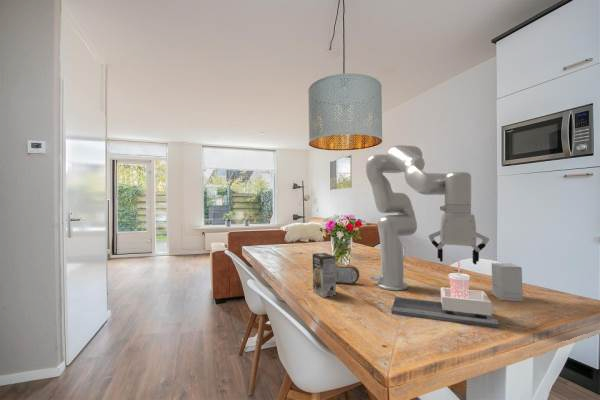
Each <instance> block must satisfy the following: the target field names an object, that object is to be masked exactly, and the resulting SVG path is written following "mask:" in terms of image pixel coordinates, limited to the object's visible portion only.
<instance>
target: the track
mask: <svg viewBox="0 0 600 400" xmlns="http://www.w3.org/2000/svg"><path fill="white" fill-rule="evenodd" d="M390 311H391V313H390V314H391V315H401V316H406V317H415V318H422V319H428V320H438V321H443V322H444V321H445V322H452V323H458V324H466V325H474V326H482V327H488V328H496V329H499V319H496V318H495V317H494V315H493V312H491V314H492V316H490V315H486V316H487V318H479V314H473V313H465V312H457V311H453V314H446V310H442V303H441V301H436V300H429V299H428V300H427V299H418V298H409V297H401V296H394V301H393V304H392V306H391V310H390Z"/></svg>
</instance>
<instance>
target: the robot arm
mask: <svg viewBox="0 0 600 400" xmlns="http://www.w3.org/2000/svg"><path fill="white" fill-rule="evenodd" d="M424 169H425V160H424V158H423V152H422V150H421V149H420V148H419V147H418V146H416V145H405V144H404V145H403V144H402V145H401V144H395V145H394V146H392V147H390V148H389V150H388V151H387V154H373V155H371V156H369V158H368V159H367V160H366V163H365V173H366V177H367V179H368V181H369V184H370V186H371V191H372V194H373V198H374V203H375V205H376V209H377V211H378V212H379V213H381V214H388V215H383V216H381V217H380V218H379V219H378V221H377V230H378V236H379V244H380V247H379V248H380V275H374V274H372V275H371V276H370V277H371V280H372V281H375V282H377V281H378V282H377V286H378V287H379V288H380V289H382V290H383V289H384V290H388V291H404V290H406V289H408V287H409V286H408V283H407V282H405V279H404V278H405V276H404V275H405V274H404V248H403V244H402V242H401V240H400V238H399V237H403V236H404V237H407V236H413V235H414V234H415V233H416V232H417V229H418V222H417V218H416V215H415V212H414V208H413V204H412V200H411V199H410V197H409V196H408V195H407V194H406V193H404V192H394V191H393V188H392V186H391V182H390V181H389V180H388V178H387V177H386V176H385V175H384V174H401V173H404V178H405V181H406V184H407V185H408V186H409V188H412V189H413V190H414V191H415V192H416V193H419V194H421V195H426V196H429V195H430V196H431V195H433V196H436V195H437V196H441V195H443V196H444V205H442V206H439V211H443V212H444V213H442V215H441V220H440V221H441V222H440V229H439V230H438V231H435V232H433V233H431V234H429V235H428V238H429V240H430V242H431V243H432V245H433V246H434V247H435V248H436V249H437V259H439V261H440V263H441V262H443V259H444V258H443V255H444V254H443V252H444V251H443V247H444V246H445V245H447V246H459V247H461V246H462V247H472V248H473V250H472V264H474V265H477V263H478V262H479V261H480V259H479V258H480V252H481V251H482V250H483V249H484V248H486V245H487V244H488V242H489V241H490V239H489V237H487V236H485V235H482V234H481V233H478V232H477V224H476V219H475V214H472V175H471V173H469V172H465V171H455V172H454V171H453V172H448V173H438V172H434V173H433V172H432V173H431V172H430V173H429V172H425V171H423V170H424ZM438 236H439V237H440V242H439V243H438V242H437V241H436V240H435V238H436V237H438ZM477 238H478V239H481V242H480V243H479V244H478V245H476V244H477Z"/></svg>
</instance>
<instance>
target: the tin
mask: <svg viewBox="0 0 600 400" xmlns="http://www.w3.org/2000/svg"><path fill="white" fill-rule="evenodd" d="M335 264H336V282H337V283H336V284H344V283H348V284H347V285H353V284H355V283H357V282H358V281H359V278H360V271H359V270H358V268H357V267H356V266H354V265H350V264H337V263H335Z"/></svg>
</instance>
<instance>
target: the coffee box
mask: <svg viewBox="0 0 600 400" xmlns="http://www.w3.org/2000/svg"><path fill="white" fill-rule="evenodd" d="M336 264H337V263H336V255H332V254H330V253H326V252H323V253H321V252H319V253H318V252H317V253H312V284H313V285H312V287H313V288H312V289H313V290H312V291H314V293H315V292H316V293H315V294H316V295H318V294H319V296H320V297H321V296H322V297H321V298H323V297H324V298H328V297H327V296H330V297H334V296H333V295H337V290H336V289H337V287H336V286H337V283H336Z"/></svg>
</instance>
